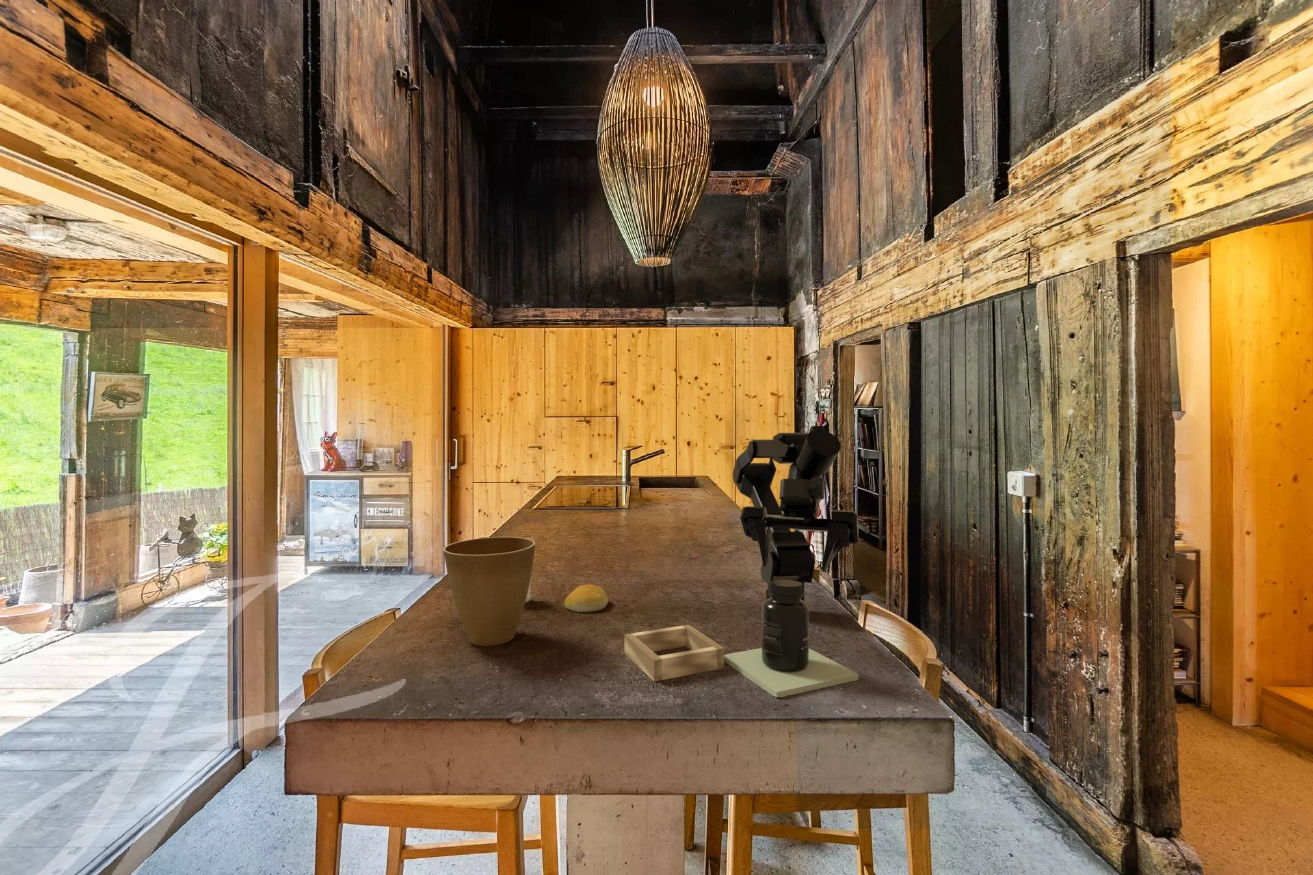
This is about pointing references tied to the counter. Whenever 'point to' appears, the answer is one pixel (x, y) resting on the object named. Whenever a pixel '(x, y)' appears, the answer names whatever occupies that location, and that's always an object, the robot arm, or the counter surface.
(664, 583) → the counter surface
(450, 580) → the plant pot
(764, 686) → the sage board
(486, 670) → the counter surface
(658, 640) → the birch collar
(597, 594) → the bread roll
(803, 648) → the supplement bottle
